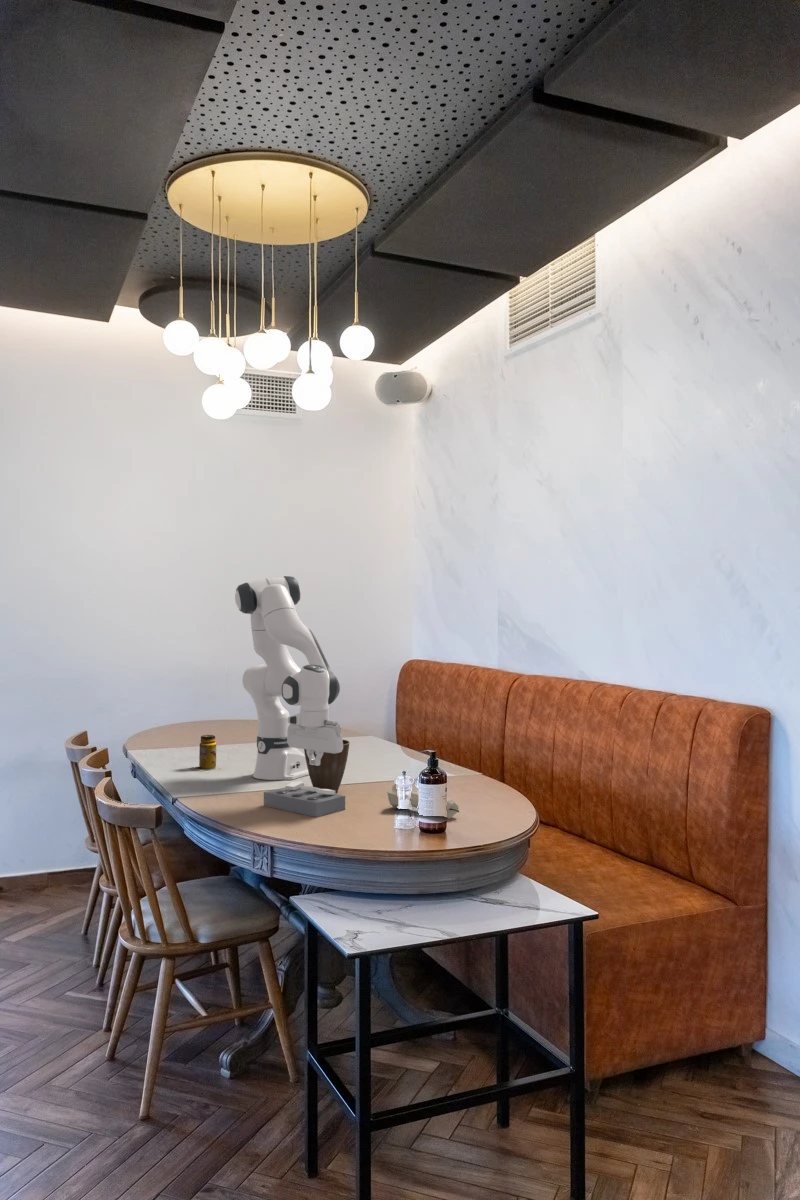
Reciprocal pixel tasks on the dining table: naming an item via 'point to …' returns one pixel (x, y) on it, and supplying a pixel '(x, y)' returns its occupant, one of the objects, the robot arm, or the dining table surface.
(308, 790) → the rocker
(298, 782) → the rocker
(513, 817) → the dining table surface
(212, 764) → the condiment
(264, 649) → the robot arm
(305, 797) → the switch panel
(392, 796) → the faceted club
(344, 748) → the plant pot
